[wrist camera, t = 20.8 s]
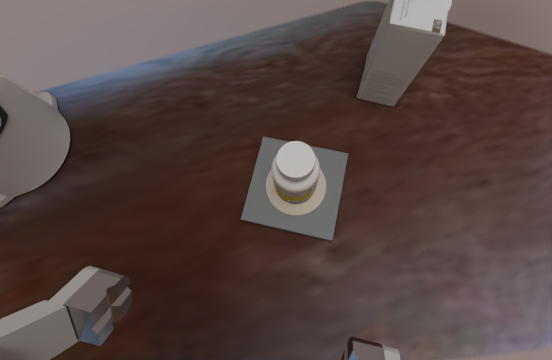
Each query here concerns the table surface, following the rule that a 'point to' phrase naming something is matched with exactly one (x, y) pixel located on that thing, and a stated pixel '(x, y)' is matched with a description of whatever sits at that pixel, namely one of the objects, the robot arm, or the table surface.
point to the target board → (296, 217)
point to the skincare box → (402, 47)
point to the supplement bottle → (295, 172)
